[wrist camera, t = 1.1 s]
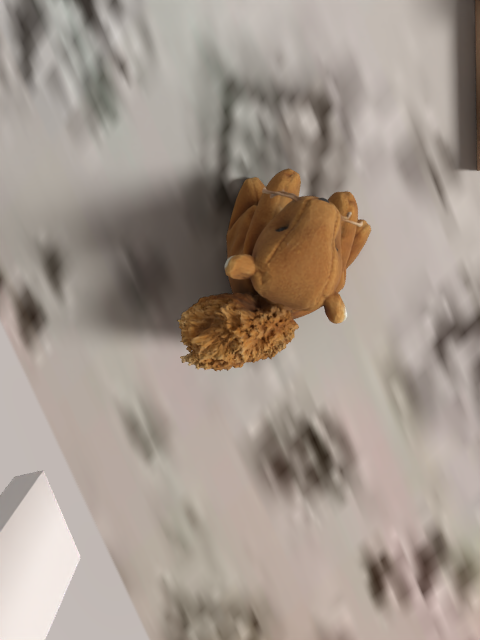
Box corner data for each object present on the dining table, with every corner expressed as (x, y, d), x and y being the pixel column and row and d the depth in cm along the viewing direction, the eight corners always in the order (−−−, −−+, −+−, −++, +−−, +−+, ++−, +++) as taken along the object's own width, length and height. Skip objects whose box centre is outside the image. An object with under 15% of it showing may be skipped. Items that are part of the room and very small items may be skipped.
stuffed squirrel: (376, 219, 33) (459, 234, 21) (282, 374, 37) (304, 468, 24) (259, 152, 32) (271, 123, 19) (173, 318, 35) (135, 387, 23)
